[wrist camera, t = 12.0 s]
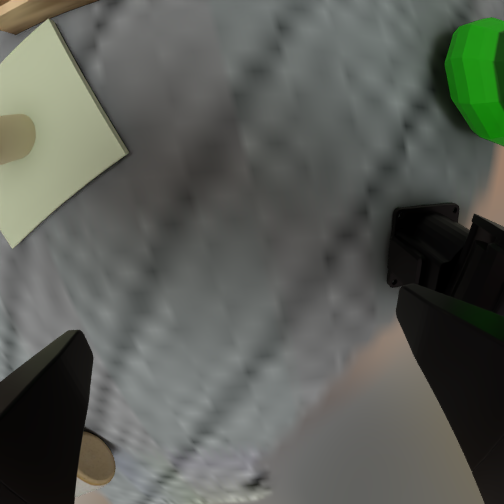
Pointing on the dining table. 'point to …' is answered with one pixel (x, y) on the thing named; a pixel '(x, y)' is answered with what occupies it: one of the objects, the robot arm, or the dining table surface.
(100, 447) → the ceramic mug
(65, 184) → the beige peg on base
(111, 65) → the dining table surface
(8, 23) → the oak box
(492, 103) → the plastic bottle
